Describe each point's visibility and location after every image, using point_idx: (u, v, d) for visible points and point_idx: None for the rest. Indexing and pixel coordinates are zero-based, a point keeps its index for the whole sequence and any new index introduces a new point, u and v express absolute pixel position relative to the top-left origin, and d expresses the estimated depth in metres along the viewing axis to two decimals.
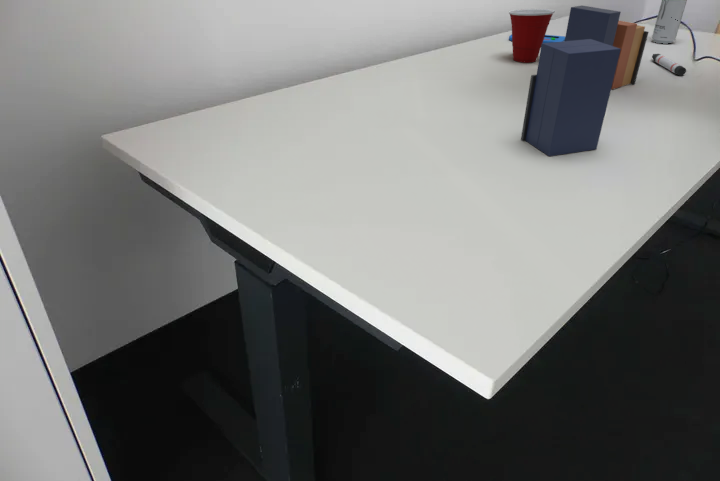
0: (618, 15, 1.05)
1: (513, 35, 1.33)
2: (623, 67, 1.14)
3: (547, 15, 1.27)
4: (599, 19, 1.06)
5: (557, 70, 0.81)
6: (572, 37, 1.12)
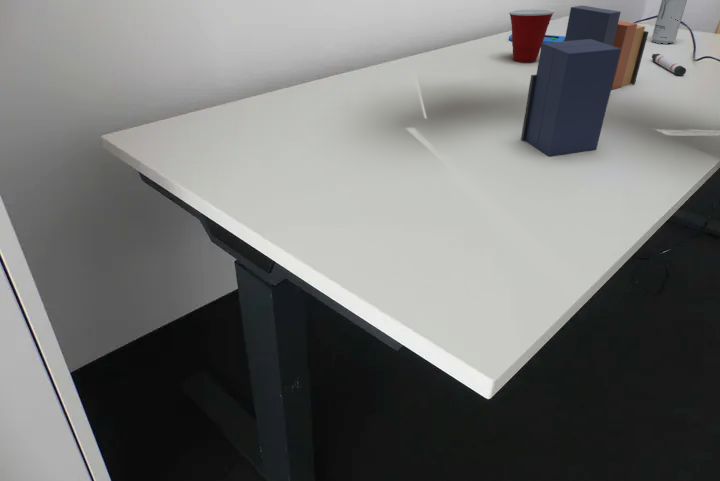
0: (618, 15, 1.05)
1: (513, 35, 1.33)
2: (623, 67, 1.14)
3: (547, 15, 1.27)
4: (599, 19, 1.06)
5: (557, 70, 0.81)
6: (572, 37, 1.12)
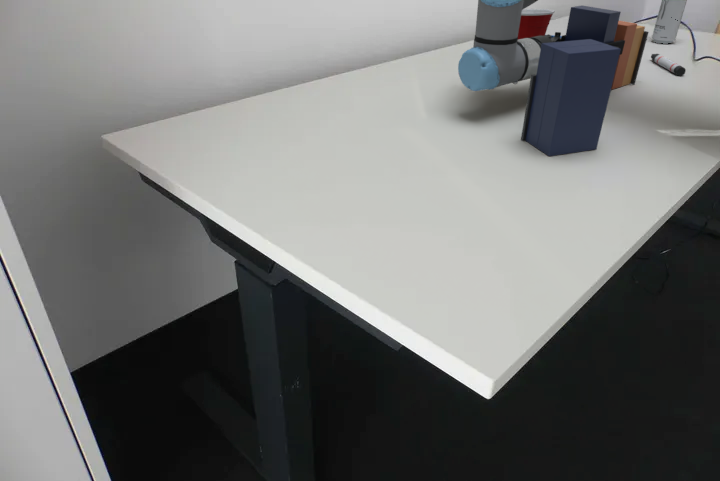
0: (618, 15, 1.05)
1: None
2: (623, 67, 1.14)
3: (547, 15, 1.27)
4: (599, 19, 1.06)
5: (557, 70, 0.81)
6: (572, 37, 1.12)
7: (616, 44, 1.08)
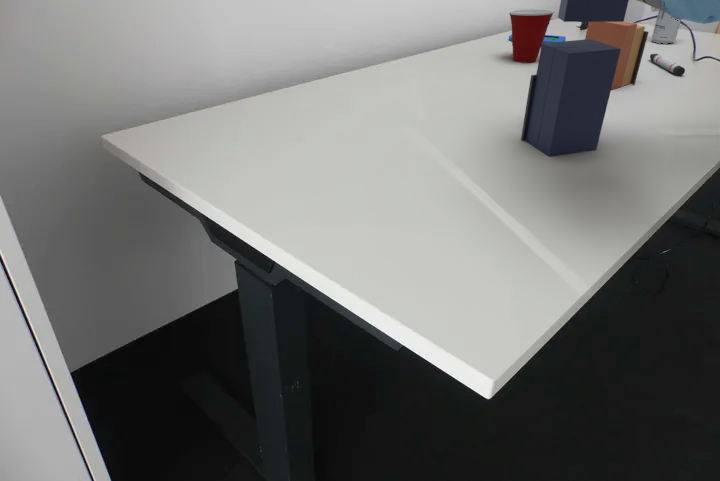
0: None
1: (513, 35, 1.33)
2: (623, 67, 1.14)
3: (547, 15, 1.27)
4: None
5: (557, 70, 0.81)
6: None
7: None
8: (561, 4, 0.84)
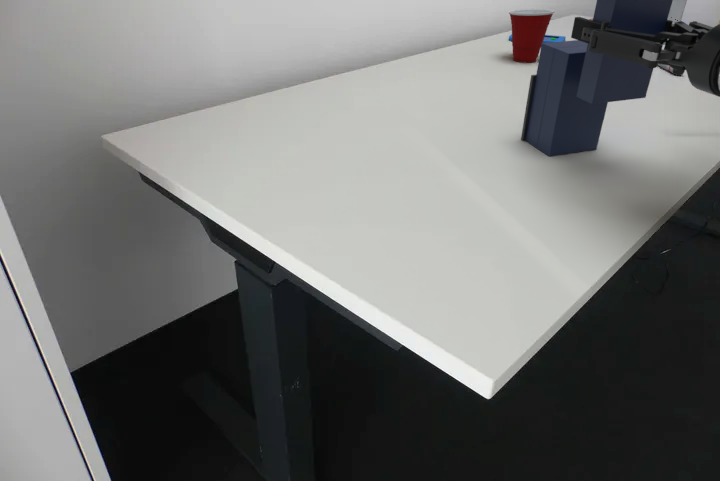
0: None
1: (513, 35, 1.33)
2: None
3: (547, 15, 1.27)
4: None
5: (557, 70, 0.81)
6: (621, 24, 0.70)
7: None
8: (582, 84, 0.76)
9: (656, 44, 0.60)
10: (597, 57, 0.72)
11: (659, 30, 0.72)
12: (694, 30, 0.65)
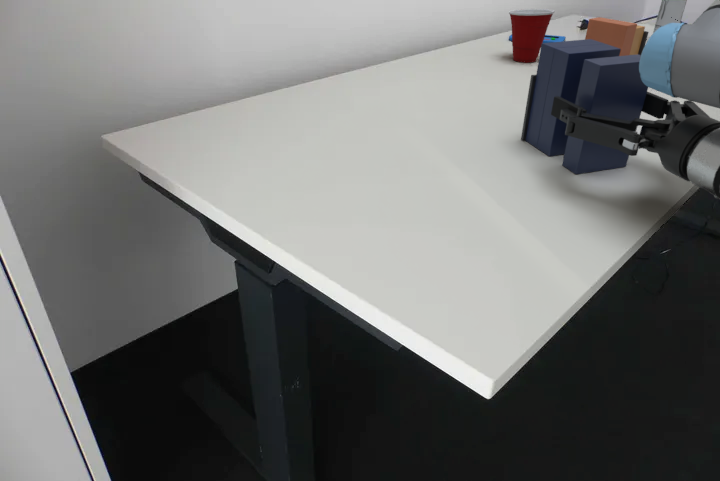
0: None
1: (513, 35, 1.33)
2: None
3: (547, 15, 1.27)
4: None
5: (557, 70, 0.81)
6: (602, 105, 0.75)
7: None
8: (567, 154, 0.82)
9: (636, 135, 0.66)
10: None
11: (637, 108, 0.78)
12: (674, 114, 0.71)
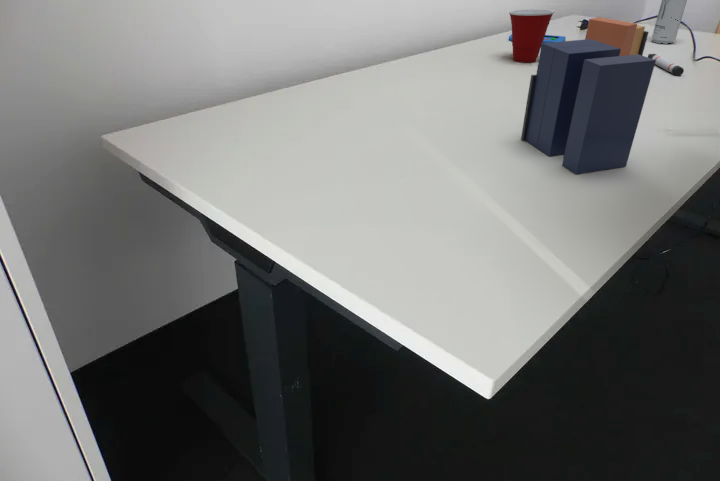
0: None
1: (513, 35, 1.33)
2: None
3: (547, 15, 1.27)
4: (641, 71, 0.74)
5: (557, 70, 0.81)
6: (602, 105, 0.75)
7: None
8: (567, 154, 0.82)
9: None
10: (580, 133, 0.78)
11: (637, 108, 0.78)
12: None
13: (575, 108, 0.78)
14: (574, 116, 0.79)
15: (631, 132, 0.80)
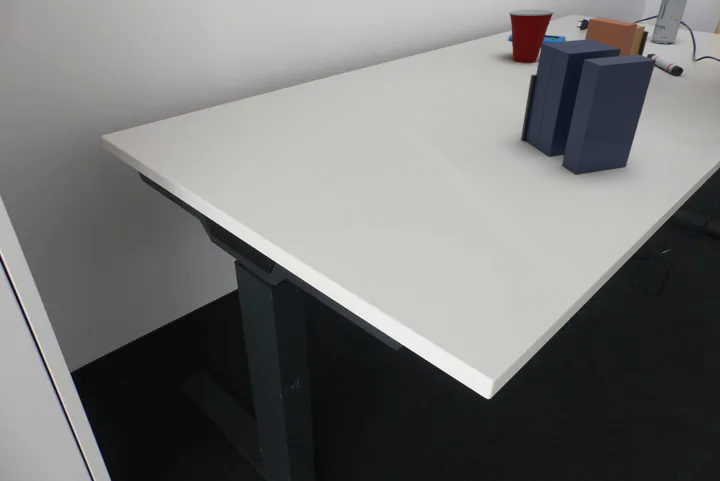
0: None
1: (513, 35, 1.33)
2: None
3: (547, 15, 1.27)
4: (641, 71, 0.74)
5: (557, 70, 0.81)
6: (602, 105, 0.75)
7: None
8: (567, 154, 0.82)
9: None
10: (580, 133, 0.78)
11: (637, 108, 0.78)
12: None
13: (575, 108, 0.78)
14: (574, 116, 0.79)
15: (631, 132, 0.80)
